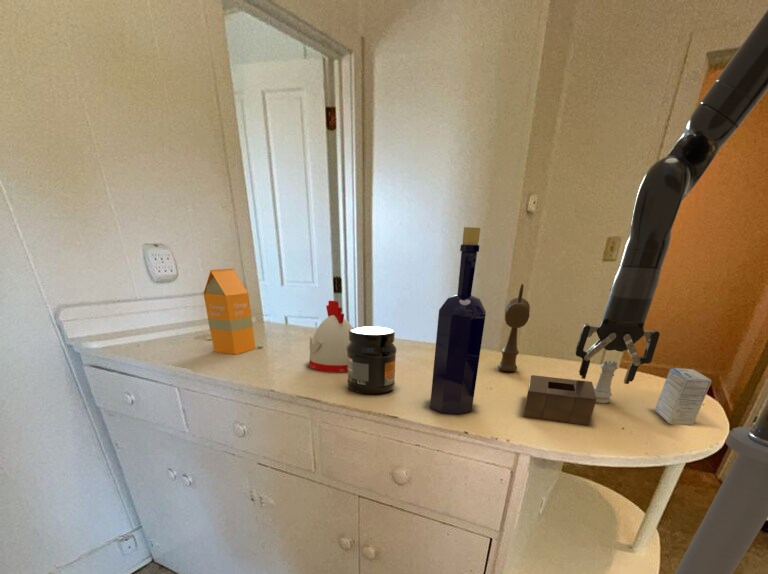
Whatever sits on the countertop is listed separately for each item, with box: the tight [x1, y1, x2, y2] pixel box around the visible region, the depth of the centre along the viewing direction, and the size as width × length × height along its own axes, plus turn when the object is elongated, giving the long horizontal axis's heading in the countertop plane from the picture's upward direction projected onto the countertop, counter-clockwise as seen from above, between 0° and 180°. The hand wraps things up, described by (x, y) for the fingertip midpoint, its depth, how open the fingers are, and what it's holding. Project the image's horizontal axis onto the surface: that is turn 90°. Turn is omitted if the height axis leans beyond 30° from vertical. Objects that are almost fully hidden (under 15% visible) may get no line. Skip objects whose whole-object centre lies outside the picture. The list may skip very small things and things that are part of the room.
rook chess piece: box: [593, 360, 619, 404], centre depth 89 cm, size 4×4×8 cm
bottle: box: [428, 226, 487, 416], centre depth 77 cm, size 9×9×30 cm
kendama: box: [497, 283, 531, 373], centre depth 105 cm, size 6×10×20 cm, turn 165°
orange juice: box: [202, 268, 256, 356], centre depth 115 cm, size 8×9×20 cm
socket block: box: [522, 374, 597, 426], centre depth 84 cm, size 12×12×5 cm
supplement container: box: [347, 326, 397, 395], centre depth 91 cm, size 10×10×12 cm
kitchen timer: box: [309, 300, 354, 373], centre depth 106 cm, size 14×14×15 cm
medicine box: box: [654, 367, 712, 427], centre depth 81 cm, size 8×4×9 cm, turn 170°
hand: (604, 380), depth 89 cm, fingers open, 8 cm apart
